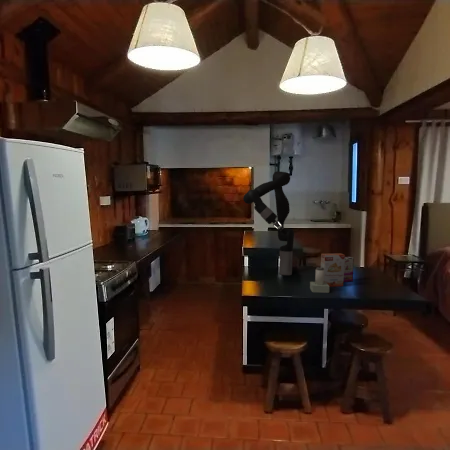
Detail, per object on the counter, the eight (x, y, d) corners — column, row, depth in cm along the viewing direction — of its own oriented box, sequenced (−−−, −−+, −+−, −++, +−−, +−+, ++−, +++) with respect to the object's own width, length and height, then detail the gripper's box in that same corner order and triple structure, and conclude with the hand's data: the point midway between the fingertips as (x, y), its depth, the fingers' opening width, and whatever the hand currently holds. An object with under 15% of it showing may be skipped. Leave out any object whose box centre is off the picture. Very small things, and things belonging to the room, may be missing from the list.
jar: (314, 282, 242) (315, 267, 240) (322, 283, 241) (323, 267, 240) (315, 284, 236) (316, 268, 235) (324, 285, 236) (325, 269, 235)
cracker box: (323, 287, 246) (324, 255, 244) (319, 285, 252) (320, 253, 250) (343, 286, 249) (345, 254, 247) (339, 284, 255) (340, 252, 253)
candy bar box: (348, 279, 267) (349, 256, 265) (353, 281, 262) (354, 257, 261) (334, 281, 263) (335, 257, 261) (339, 282, 258) (340, 258, 257)
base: (309, 287, 244) (310, 281, 244) (325, 288, 244) (326, 282, 243) (312, 292, 235) (312, 285, 234) (329, 292, 234) (329, 286, 233)
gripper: (273, 211, 241) (291, 230, 241) (271, 210, 255) (288, 228, 256) (264, 220, 242) (282, 238, 242) (263, 218, 256) (280, 235, 256)
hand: (285, 233), depth 249 cm, fingers open, 8 cm apart
